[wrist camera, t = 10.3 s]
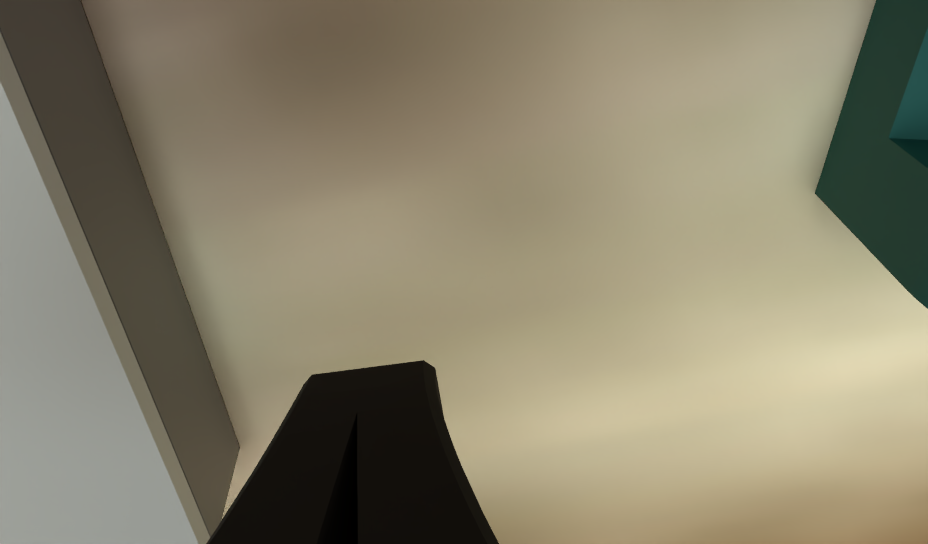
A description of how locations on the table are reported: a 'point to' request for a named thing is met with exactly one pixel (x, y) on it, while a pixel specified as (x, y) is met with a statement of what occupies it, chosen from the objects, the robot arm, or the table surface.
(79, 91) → the cable duct
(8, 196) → the duct lid
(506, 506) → the table surface
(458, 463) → the robot arm
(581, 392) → the table surface
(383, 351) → the table surface
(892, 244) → the bracket
